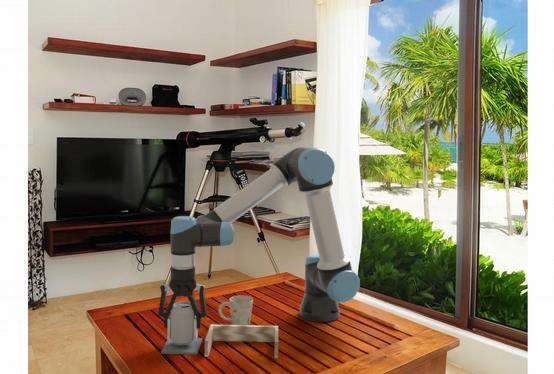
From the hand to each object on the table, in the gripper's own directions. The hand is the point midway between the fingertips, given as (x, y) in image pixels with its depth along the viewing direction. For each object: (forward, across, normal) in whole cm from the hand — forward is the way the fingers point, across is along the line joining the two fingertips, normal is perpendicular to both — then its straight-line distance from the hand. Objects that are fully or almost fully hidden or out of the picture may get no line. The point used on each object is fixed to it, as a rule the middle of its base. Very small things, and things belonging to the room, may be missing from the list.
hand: (182, 337), depth 151 cm
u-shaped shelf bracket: (+3, -19, +1) cm, 19 cm away
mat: (+3, 0, 0) cm, 3 cm away
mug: (+3, -15, -18) cm, 24 cm away
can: (+1, 0, 0) cm, 1 cm away
